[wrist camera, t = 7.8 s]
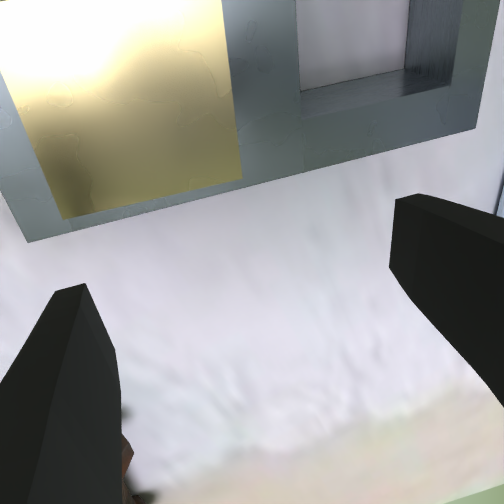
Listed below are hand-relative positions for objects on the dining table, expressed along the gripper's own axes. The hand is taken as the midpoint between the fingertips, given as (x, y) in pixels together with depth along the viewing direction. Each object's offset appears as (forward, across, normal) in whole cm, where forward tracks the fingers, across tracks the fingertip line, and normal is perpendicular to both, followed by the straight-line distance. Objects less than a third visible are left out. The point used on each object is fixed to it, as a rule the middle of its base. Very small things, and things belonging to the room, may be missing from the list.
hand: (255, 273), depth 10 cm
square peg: (+9, +2, -4) cm, 10 cm away
